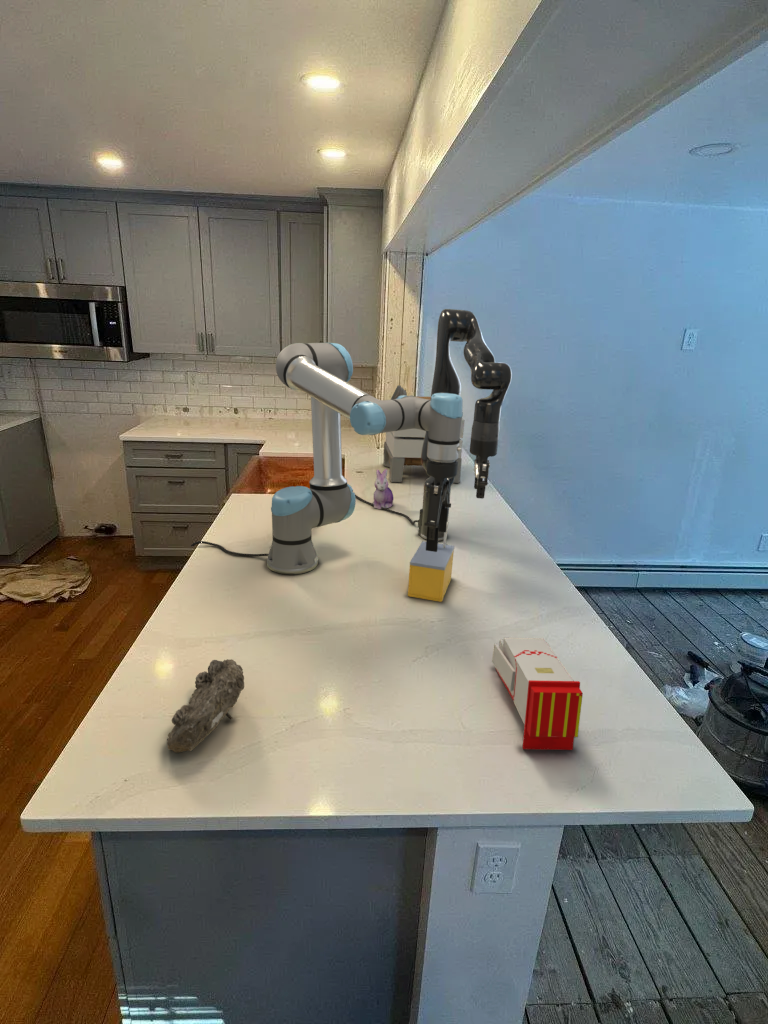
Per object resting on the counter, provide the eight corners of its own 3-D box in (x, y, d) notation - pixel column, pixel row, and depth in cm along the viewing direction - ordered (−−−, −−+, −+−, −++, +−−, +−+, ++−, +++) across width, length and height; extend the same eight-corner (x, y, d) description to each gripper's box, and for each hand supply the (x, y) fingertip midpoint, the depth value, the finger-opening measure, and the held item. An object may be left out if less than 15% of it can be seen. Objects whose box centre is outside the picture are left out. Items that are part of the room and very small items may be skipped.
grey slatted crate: (382, 463, 289) (386, 382, 275) (445, 464, 293) (451, 384, 279) (390, 482, 257) (394, 392, 243) (460, 483, 261) (468, 394, 247)
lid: (422, 543, 168) (424, 515, 165) (454, 548, 166) (456, 520, 163) (409, 564, 154) (411, 534, 151) (444, 570, 151) (447, 539, 148)
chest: (419, 573, 170) (421, 544, 167) (451, 579, 168) (453, 549, 165) (407, 596, 157) (409, 565, 154) (441, 602, 154) (444, 570, 151)
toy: (540, 621, 128) (592, 689, 99) (535, 675, 131) (584, 757, 102) (487, 620, 128) (523, 687, 98) (483, 674, 130) (517, 756, 101)
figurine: (377, 511, 221) (379, 474, 216) (366, 503, 229) (367, 467, 224) (399, 508, 225) (401, 471, 220) (387, 500, 233) (388, 465, 228)
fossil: (192, 660, 117) (244, 628, 112) (224, 691, 120) (276, 661, 115) (142, 746, 98) (202, 712, 93) (182, 779, 101) (242, 748, 96)
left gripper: (450, 473, 124) (442, 562, 131) (464, 449, 147) (457, 525, 154) (416, 470, 126) (411, 557, 133) (436, 446, 149) (430, 522, 156)
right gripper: (501, 443, 148) (494, 502, 154) (495, 432, 162) (489, 486, 167) (472, 442, 149) (466, 500, 154) (469, 431, 162) (464, 485, 168)
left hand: (436, 540), depth 144 cm, fingers open, 13 cm apart
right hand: (478, 493), depth 161 cm, fingers open, 8 cm apart
